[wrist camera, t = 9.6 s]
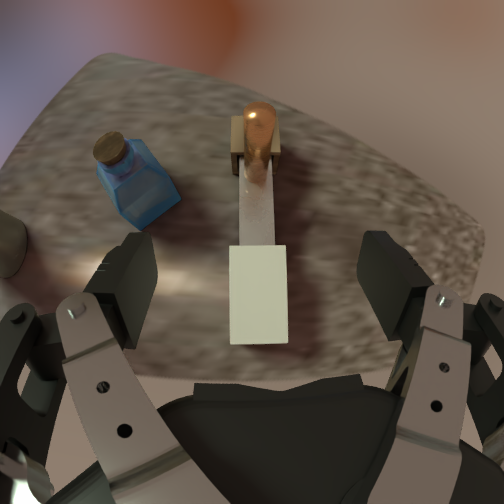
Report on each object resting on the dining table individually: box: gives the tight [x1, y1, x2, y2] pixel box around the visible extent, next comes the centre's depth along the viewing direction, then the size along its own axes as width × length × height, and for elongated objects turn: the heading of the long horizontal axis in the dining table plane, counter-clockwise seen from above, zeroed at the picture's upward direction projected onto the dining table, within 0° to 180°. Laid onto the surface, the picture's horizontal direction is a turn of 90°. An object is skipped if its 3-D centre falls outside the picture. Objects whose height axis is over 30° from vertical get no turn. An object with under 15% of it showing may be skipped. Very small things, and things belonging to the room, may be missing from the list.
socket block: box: [231, 116, 281, 174], centre depth 32 cm, size 5×5×5 cm
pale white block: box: [229, 245, 288, 344], centre depth 29 cm, size 5×9×5 cm, turn 1°
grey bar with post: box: [239, 102, 276, 246], centre depth 26 cm, size 3×16×13 cm, turn 1°
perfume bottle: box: [93, 131, 181, 231], centre depth 27 cm, size 6×6×12 cm
